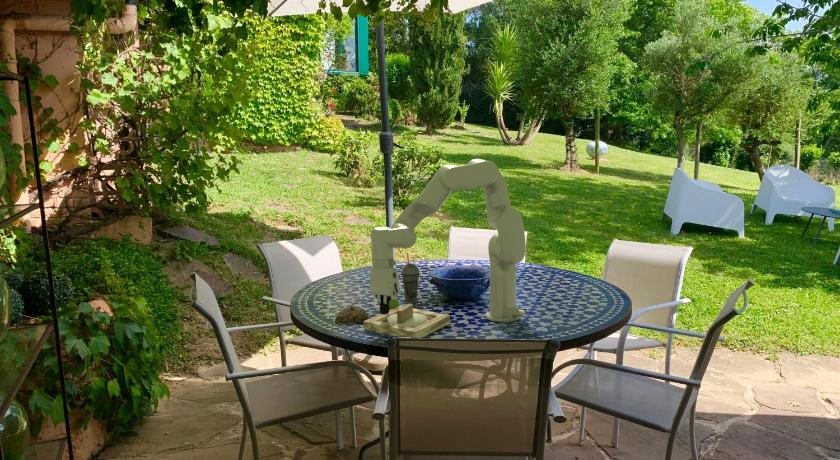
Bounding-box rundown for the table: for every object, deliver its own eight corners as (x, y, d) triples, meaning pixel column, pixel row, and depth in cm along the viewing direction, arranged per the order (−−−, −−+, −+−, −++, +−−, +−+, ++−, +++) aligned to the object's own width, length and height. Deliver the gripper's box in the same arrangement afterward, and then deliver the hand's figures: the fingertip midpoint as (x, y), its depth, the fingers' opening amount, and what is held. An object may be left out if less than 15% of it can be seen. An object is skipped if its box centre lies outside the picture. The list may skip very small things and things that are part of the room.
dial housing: (449, 323, 236) (449, 314, 235) (415, 340, 218) (415, 331, 217) (400, 313, 248) (399, 305, 247) (363, 329, 230) (363, 320, 229)
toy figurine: (383, 308, 254) (382, 278, 252) (399, 308, 254) (399, 278, 252) (381, 313, 249) (381, 282, 247) (398, 313, 249) (398, 282, 247)
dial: (398, 315, 242) (397, 298, 241) (433, 319, 236) (433, 302, 235) (380, 326, 229) (380, 308, 228) (417, 331, 224) (417, 312, 223)
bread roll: (368, 324, 237) (368, 311, 236) (334, 325, 236) (333, 312, 235) (368, 313, 249) (368, 301, 248) (336, 314, 248) (335, 302, 248)
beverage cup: (417, 304, 260) (417, 254, 257) (400, 303, 262) (399, 254, 258) (421, 299, 267) (421, 251, 264) (404, 298, 269) (403, 250, 265)
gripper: (406, 262, 226) (408, 313, 229) (372, 258, 234) (374, 307, 238) (394, 267, 220) (395, 319, 223) (359, 262, 228) (361, 313, 232)
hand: (384, 313), depth 231 cm, fingers closed
